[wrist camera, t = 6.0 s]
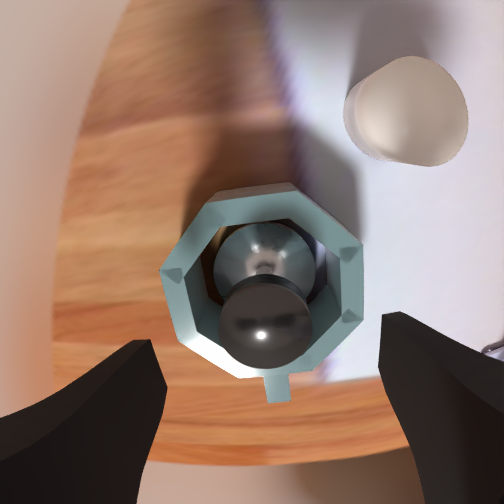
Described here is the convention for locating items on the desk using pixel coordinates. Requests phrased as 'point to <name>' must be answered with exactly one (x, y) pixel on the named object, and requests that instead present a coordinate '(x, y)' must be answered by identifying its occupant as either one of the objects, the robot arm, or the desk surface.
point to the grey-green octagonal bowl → (320, 308)
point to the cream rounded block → (407, 113)
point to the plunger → (264, 294)
